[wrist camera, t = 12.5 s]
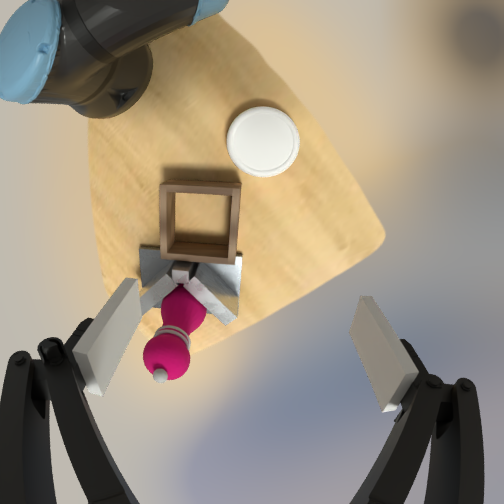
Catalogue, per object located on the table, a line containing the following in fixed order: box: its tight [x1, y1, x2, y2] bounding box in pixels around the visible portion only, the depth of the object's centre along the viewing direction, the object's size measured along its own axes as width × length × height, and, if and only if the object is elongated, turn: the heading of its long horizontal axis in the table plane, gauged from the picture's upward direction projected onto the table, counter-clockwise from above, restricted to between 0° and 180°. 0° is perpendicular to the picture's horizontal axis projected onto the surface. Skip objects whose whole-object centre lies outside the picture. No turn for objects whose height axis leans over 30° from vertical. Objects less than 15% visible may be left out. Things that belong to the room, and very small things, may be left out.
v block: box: [139, 246, 243, 326], centre depth 44 cm, size 17×11×7 cm, turn 85°
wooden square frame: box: [159, 179, 242, 265], centre depth 41 cm, size 11×11×5 cm
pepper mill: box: [143, 283, 207, 383], centre depth 38 cm, size 7×7×20 cm
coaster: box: [227, 106, 300, 177], centre depth 38 cm, size 10×10×4 cm
